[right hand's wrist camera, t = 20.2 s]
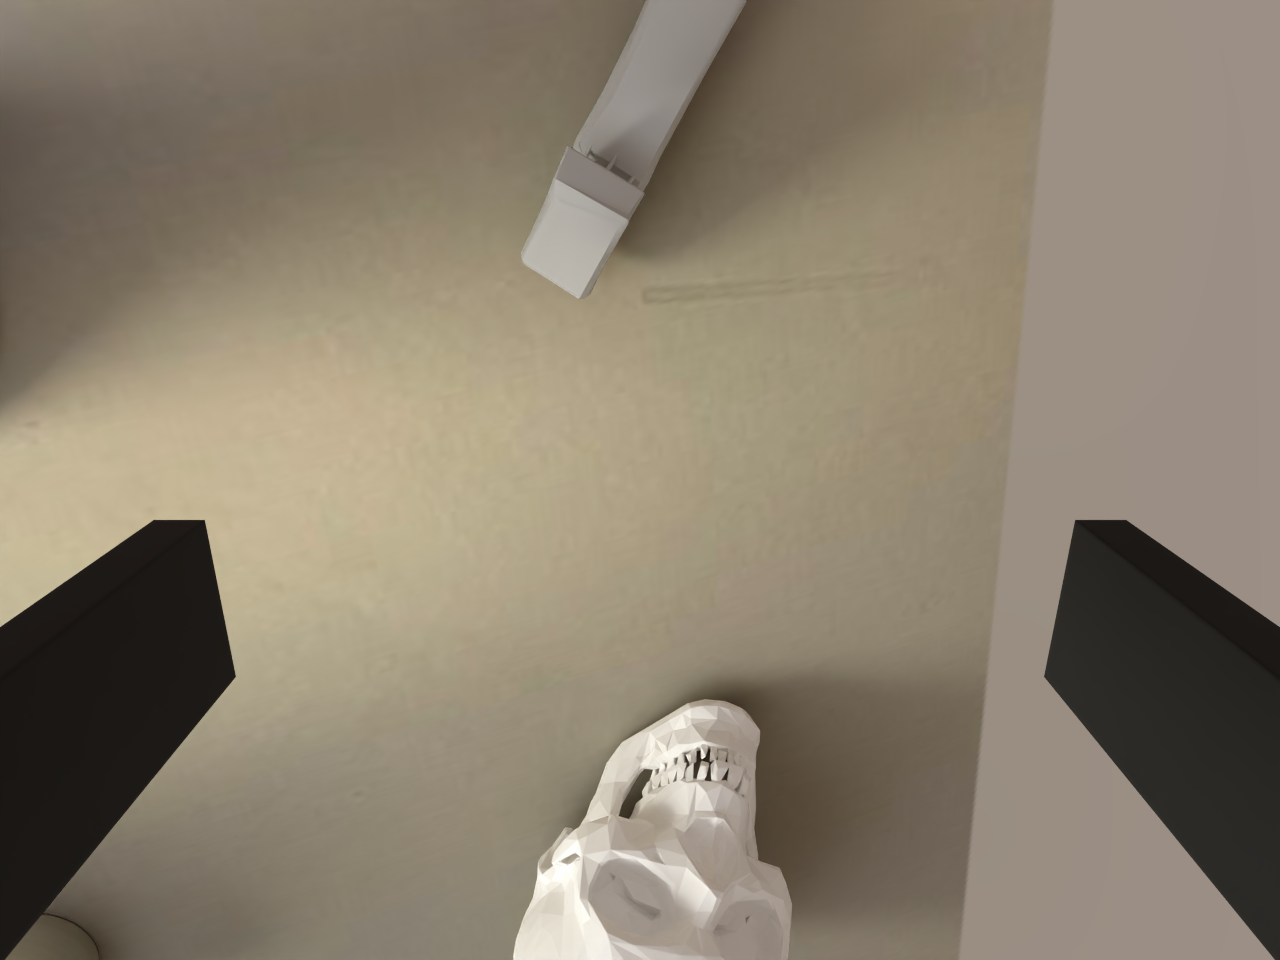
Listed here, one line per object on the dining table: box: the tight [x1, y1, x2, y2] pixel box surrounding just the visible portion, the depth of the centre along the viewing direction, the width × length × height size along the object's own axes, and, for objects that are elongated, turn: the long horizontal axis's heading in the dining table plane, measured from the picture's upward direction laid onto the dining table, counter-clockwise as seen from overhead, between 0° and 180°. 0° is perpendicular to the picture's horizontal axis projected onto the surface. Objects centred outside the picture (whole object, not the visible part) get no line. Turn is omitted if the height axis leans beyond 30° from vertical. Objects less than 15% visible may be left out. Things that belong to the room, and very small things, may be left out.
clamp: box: [521, 0, 747, 299], centre depth 34 cm, size 20×4×7 cm, turn 151°
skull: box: [513, 699, 792, 960], centre depth 44 cm, size 13×22×16 cm, turn 162°
